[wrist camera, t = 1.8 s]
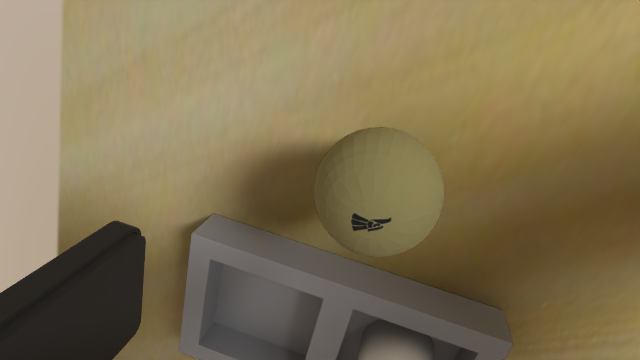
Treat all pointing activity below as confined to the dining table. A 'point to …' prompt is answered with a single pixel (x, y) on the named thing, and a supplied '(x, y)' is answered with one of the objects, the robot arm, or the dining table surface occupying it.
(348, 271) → the socket board
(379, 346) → the white cylinder
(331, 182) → the light bulb
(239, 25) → the dining table surface
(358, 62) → the dining table surface
